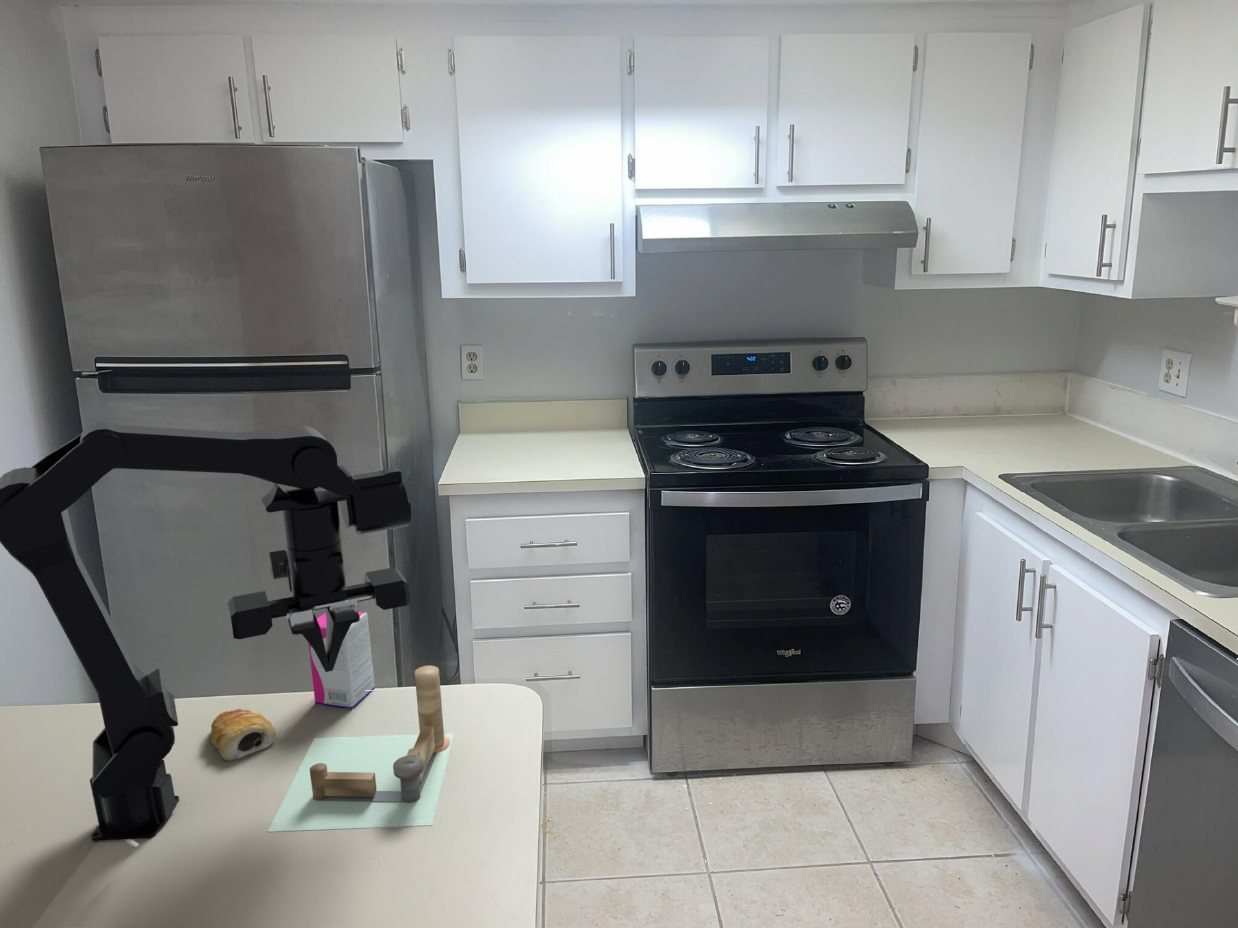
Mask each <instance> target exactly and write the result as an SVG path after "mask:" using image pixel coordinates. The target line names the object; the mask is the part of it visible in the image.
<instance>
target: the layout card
mask: <svg viewBox="0 0 1238 928" xmlns="http://www.w3.org/2000/svg"><path fill="white" fill-rule="evenodd" d="M454 735H455V732H451V733H449V732H448V733H444V743H443V745H442V746H440V747H438V748H435V749H434V752H433V754H432V757H431V759H430V762H429V764H428V766H427V769H426V771H425V774H424V776H423V779H422V781H421V783H420V794H421V797H420V799H419V800H417V801H416V802H413V803H406V802H405V801H403V800H402V794H401V783H400V779H399V778H397V777H396V776H395V775H394V770H393V764H394V762H395V761H396V760H397V759H399V758H401V757H404V756H407V753H408V751H409V749H413V747H414V745H415V743H416V741H417V738H418V736H419V734H399V735H398V734H396V735H393V734H392V735H372V736H369V735H368V736H365V735H364V736H343V737H341V736H339V737H316V738H315V737H314V738H313V740H312V743H311V744H310V747H309V748H308V750H307V753H306V754H305V756H304V758H303V761H302V763H301V764H300V766H299V768H298V770H297V772H296V774H295V776H294V778H293V780H292V783H291V784H290V786H289V788H288V789H287V792H286V793H285V797H284V798H283V800H282V802H281V804H280V806H279V809H278V810H277V812H276V815H275V816H274V817H273V820H272V822H271V825H270V826H269V828H268V829H267V833H274V832H276V833H278V832H282V833H283V832H301V831H303V832H304V831H326V830H354V829H355V830H356V829H374V828H375V829H377V828H398V827H399V828H401V827H402V828H403V827H404V828H405V827H406V828H407V827H429V826H434V820H435V816H436V811H437V808H438V803H439V799H440V795H441V791H442V786H443V783H444V779H445V778H444V777H445V775H446V770H447V767H448V766H447V765H448V761H449V757H450V754H451V750H452V745H453V740H454V737H455V736H454ZM318 763H324V764H326V765H327V771H328V772H361V773H375V778H376V788H377V790H376V792H375V794H374V797H351V796H328V797H327V798H325V799H323V800H318V801H316V800H314V799H313V793H312V785H311V777H310V767H311V766H313V765H315V764H318Z"/></svg>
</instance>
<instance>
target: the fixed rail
mask: <svg viewBox="0 0 1238 928" xmlns="http://www.w3.org/2000/svg"><path fill="white" fill-rule="evenodd" d="M310 777H311V785H312V793H313V799H314V800H316V801H318V800H323V799H325V798H327V797H328V796H351V797H374V794H375V792H376V790H377V788H376V778H375V773H361V772H328V771H327V765H326V764H324V763H318V764H315V765H313V766H311V767H310ZM400 783H401V794H402V800H403V801H405V802H406V803H413V802H416V801H417V800H419V799H420V797H421V794H420V783H419V776H417V777H415V778H412V779H400Z"/></svg>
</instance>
